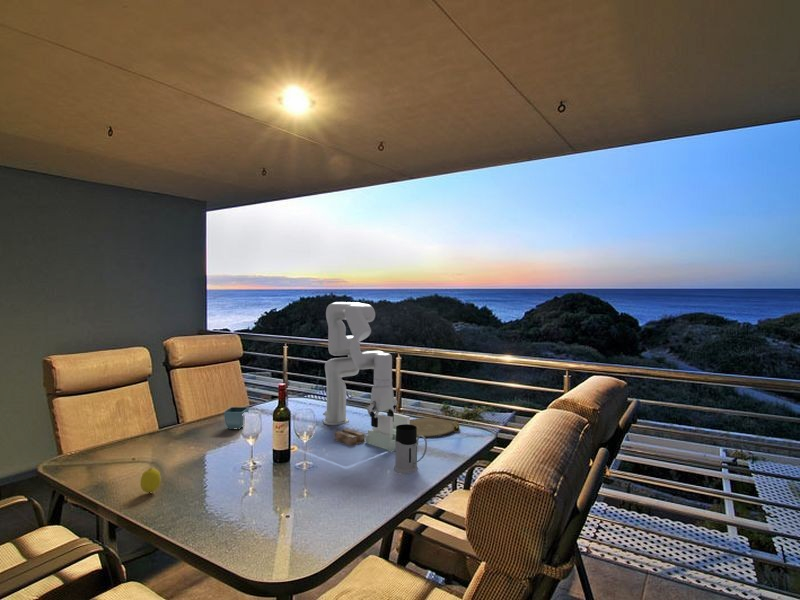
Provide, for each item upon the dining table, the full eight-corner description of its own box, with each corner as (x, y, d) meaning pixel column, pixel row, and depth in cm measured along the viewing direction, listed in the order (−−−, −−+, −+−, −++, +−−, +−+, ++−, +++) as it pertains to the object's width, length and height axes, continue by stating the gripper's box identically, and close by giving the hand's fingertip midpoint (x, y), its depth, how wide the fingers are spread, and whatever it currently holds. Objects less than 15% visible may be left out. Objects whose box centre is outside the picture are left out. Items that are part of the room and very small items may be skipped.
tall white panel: (372, 441, 182) (372, 413, 182) (375, 440, 183) (375, 412, 183) (390, 447, 176) (390, 417, 176) (392, 446, 177) (392, 416, 177)
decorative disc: (396, 416, 219) (455, 414, 219) (397, 422, 219) (456, 420, 219) (394, 434, 191) (462, 431, 190) (395, 441, 191) (463, 439, 190)
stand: (333, 441, 185) (333, 432, 185) (346, 437, 191) (346, 428, 191) (352, 447, 178) (352, 438, 178) (365, 443, 183) (365, 433, 183)
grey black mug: (406, 462, 163) (406, 422, 162) (434, 473, 152) (434, 430, 152) (389, 468, 156) (389, 427, 156) (417, 480, 146) (417, 436, 146)
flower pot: (242, 431, 198) (242, 411, 198) (223, 431, 199) (223, 411, 198) (249, 425, 207) (249, 407, 207) (230, 425, 207) (231, 406, 207)
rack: (365, 444, 182) (365, 418, 182) (392, 434, 195) (392, 410, 194) (389, 452, 173) (390, 424, 173) (416, 441, 186) (416, 416, 185)
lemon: (146, 499, 132) (146, 472, 132) (136, 494, 135) (137, 469, 134) (164, 492, 136) (164, 467, 136) (154, 488, 139) (154, 463, 139)
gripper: (390, 378, 188) (389, 418, 188) (361, 384, 175) (361, 426, 175) (403, 381, 183) (402, 421, 184) (374, 387, 170) (374, 430, 170)
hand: (382, 424), depth 179 cm, fingers open, 9 cm apart
